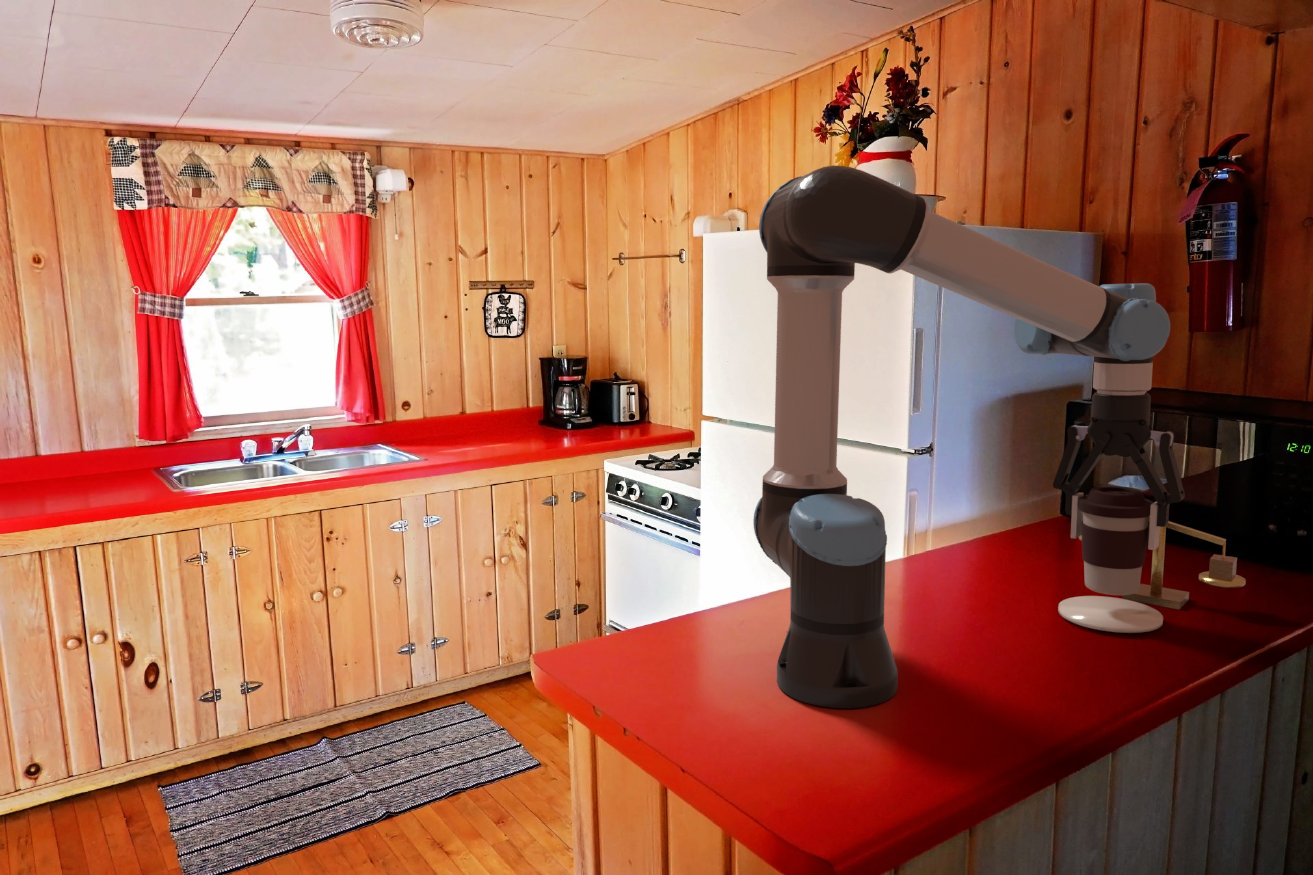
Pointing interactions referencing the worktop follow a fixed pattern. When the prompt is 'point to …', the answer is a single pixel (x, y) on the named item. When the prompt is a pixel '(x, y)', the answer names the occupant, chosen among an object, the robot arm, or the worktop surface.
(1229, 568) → the balance
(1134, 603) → the saucer
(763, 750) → the worktop surface
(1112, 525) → the coffee cup
